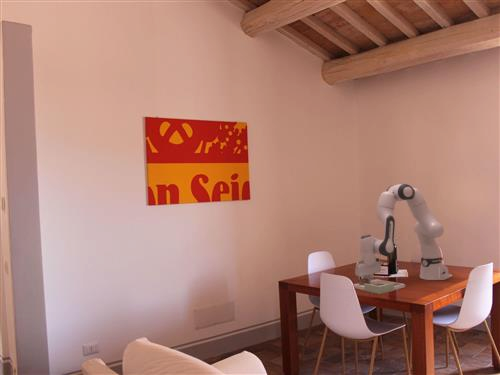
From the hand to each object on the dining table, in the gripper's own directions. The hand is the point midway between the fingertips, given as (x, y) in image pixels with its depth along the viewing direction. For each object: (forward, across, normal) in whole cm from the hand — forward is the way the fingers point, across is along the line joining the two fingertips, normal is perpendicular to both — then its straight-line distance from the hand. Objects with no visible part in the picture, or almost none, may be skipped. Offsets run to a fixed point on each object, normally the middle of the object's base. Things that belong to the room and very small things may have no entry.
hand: (368, 281), depth 300 cm
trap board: (+3, +1, -7) cm, 8 cm away
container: (+4, +12, +14) cm, 19 cm away
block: (+1, -4, 0) cm, 4 cm away
